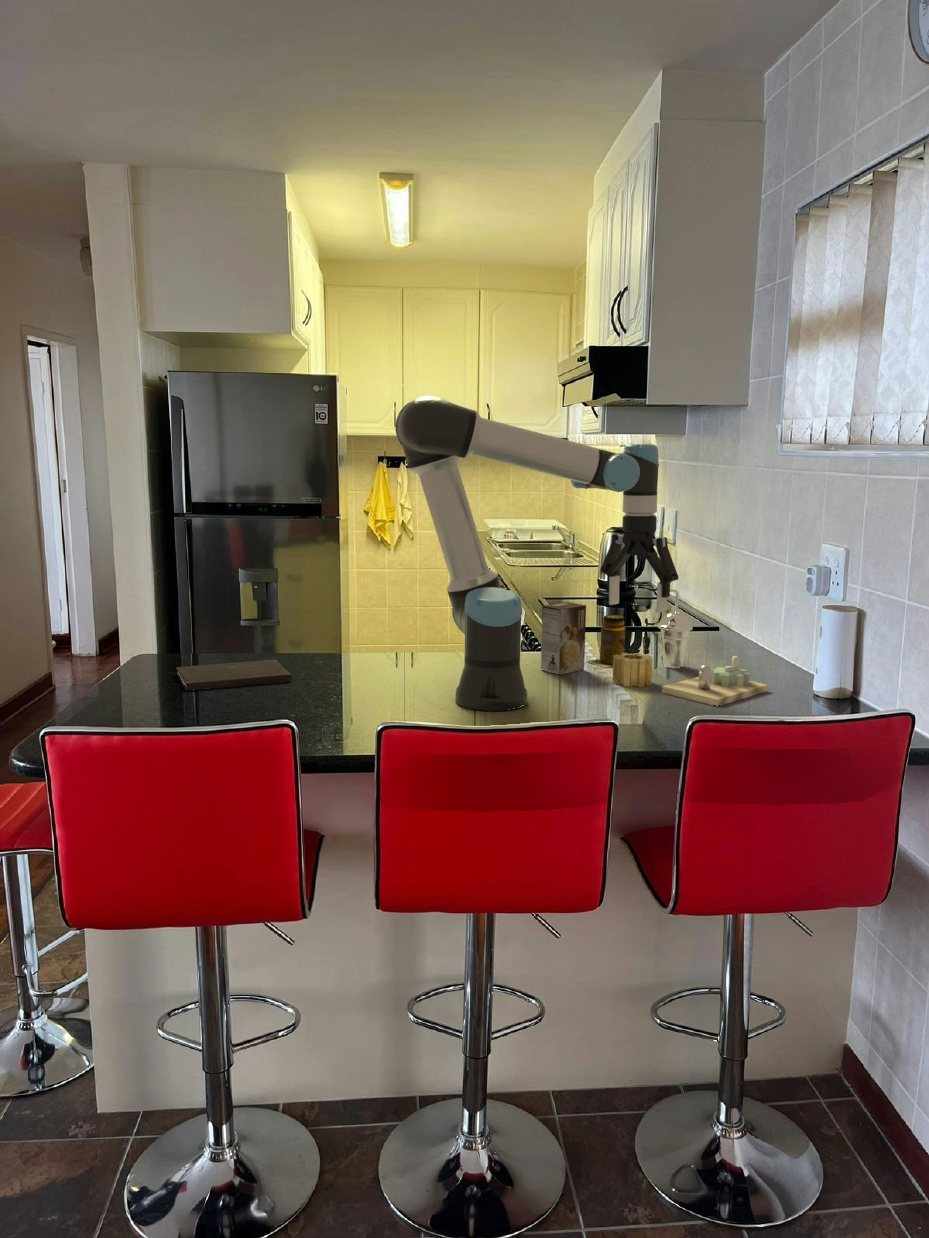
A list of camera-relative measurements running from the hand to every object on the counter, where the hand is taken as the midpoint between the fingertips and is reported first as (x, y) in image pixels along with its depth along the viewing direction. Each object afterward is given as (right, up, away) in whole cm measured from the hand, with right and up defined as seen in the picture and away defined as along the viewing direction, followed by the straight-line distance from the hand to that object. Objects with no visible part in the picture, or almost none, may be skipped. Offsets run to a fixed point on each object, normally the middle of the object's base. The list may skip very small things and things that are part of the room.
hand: (637, 608), depth 205 cm
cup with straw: (+12, -14, +20) cm, 27 cm away
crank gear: (+20, -17, -1) cm, 26 cm away
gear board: (+17, -19, -4) cm, 25 cm away
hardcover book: (-92, -17, +1) cm, 94 cm away
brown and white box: (-16, -15, +14) cm, 26 cm away
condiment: (-3, -14, +22) cm, 26 cm away
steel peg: (+13, -18, -8) cm, 23 cm away
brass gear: (-1, -17, +3) cm, 17 cm away
